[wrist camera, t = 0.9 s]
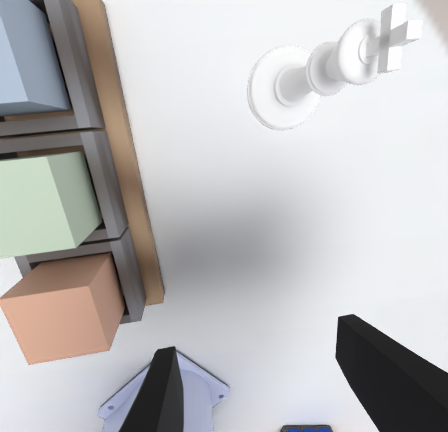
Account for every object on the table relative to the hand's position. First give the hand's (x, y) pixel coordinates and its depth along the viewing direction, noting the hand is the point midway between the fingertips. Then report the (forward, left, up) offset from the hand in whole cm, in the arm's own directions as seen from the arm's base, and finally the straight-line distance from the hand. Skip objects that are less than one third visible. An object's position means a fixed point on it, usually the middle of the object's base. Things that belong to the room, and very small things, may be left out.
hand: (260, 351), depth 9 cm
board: (-4, +10, -10) cm, 15 cm away
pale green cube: (-4, +10, -7) cm, 13 cm away
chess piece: (+10, +5, -11) cm, 15 cm away
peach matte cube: (-8, +5, -7) cm, 12 cm away
